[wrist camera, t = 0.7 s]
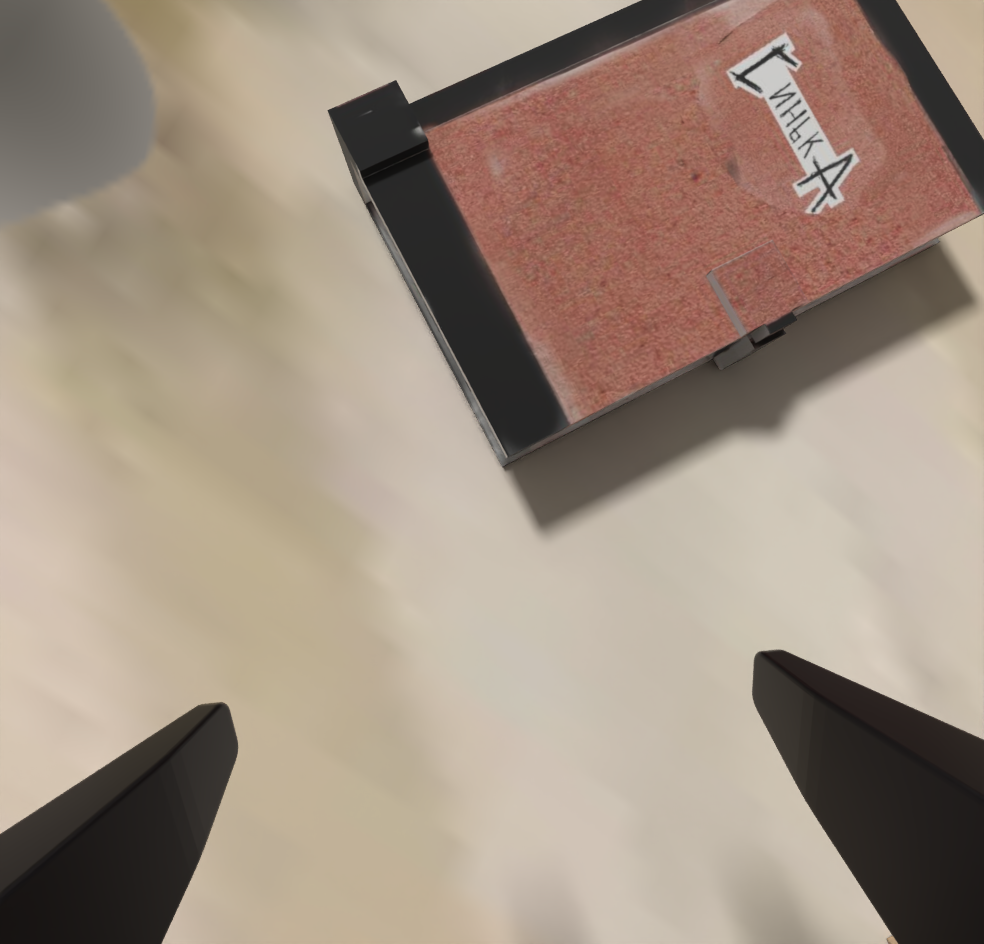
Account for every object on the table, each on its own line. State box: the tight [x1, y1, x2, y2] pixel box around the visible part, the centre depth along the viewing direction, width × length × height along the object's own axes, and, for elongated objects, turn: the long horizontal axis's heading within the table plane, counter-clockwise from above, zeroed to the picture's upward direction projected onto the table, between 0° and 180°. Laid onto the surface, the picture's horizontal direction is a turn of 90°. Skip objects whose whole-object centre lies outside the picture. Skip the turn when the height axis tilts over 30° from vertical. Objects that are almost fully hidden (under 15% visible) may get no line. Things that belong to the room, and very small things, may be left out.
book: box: [328, 0, 984, 467], centre depth 24 cm, size 26×18×5 cm
